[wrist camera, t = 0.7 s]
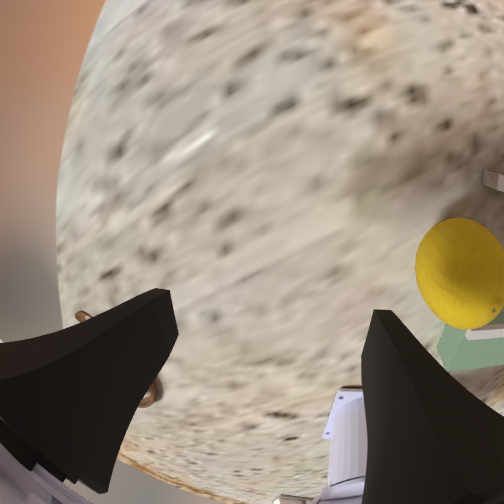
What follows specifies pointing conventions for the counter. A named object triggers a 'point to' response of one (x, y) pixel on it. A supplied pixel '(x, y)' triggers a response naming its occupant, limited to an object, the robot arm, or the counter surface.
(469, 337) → the pale green rectangular bar
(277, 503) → the beige tall twisted piece
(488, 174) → the rail
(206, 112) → the counter surface
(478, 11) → the counter surface
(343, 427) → the robot arm
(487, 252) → the lemon
